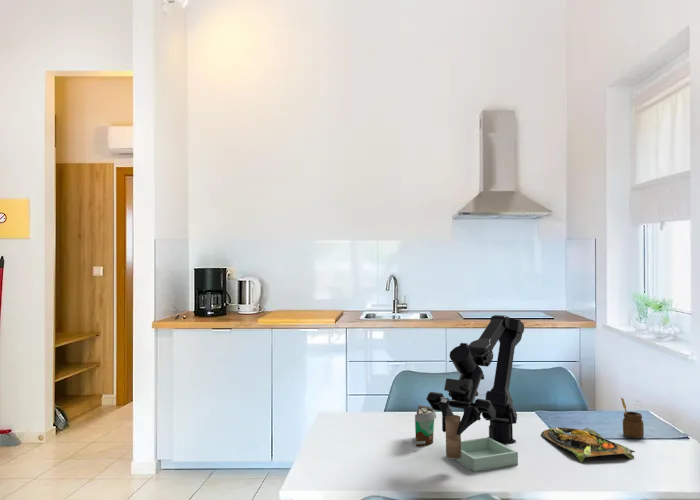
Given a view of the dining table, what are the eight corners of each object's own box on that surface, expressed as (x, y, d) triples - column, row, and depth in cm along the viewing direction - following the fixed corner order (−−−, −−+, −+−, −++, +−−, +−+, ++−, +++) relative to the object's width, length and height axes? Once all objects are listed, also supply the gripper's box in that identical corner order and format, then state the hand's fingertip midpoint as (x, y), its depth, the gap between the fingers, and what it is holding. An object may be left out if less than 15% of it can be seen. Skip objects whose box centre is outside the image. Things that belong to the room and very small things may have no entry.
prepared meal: (535, 423, 181) (587, 419, 183) (535, 433, 181) (588, 430, 183) (578, 455, 153) (639, 451, 155) (578, 468, 153) (640, 464, 155)
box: (488, 449, 166) (488, 437, 166) (518, 464, 153) (517, 452, 153) (447, 455, 161) (447, 443, 161) (474, 472, 148) (474, 459, 148)
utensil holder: (647, 438, 173) (646, 400, 173) (627, 438, 173) (626, 400, 174) (638, 432, 179) (637, 395, 179) (618, 433, 179) (617, 395, 179)
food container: (435, 449, 167) (435, 415, 167) (415, 448, 168) (414, 415, 168) (437, 436, 179) (437, 405, 179) (418, 435, 180) (418, 404, 180)
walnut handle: (456, 452, 151) (455, 414, 151) (464, 457, 147) (463, 418, 147) (443, 454, 150) (442, 415, 150) (451, 459, 146) (450, 419, 146)
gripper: (428, 363, 158) (409, 410, 149) (490, 370, 146) (473, 422, 137) (442, 385, 164) (424, 432, 155) (503, 394, 152) (487, 445, 143)
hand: (450, 432), depth 147 cm, fingers closed on walnut handle, 4 cm apart
